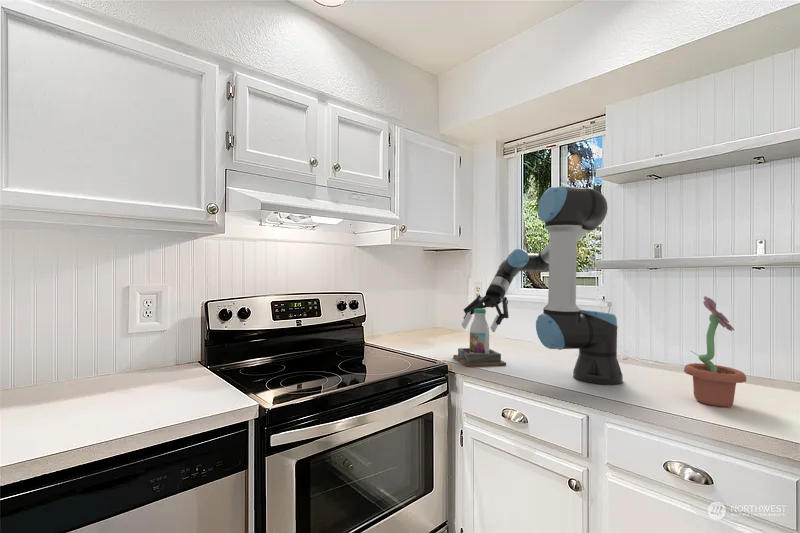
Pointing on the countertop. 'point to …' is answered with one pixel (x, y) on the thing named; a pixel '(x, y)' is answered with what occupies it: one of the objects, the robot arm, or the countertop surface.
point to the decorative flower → (714, 368)
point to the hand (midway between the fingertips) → (477, 328)
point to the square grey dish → (478, 358)
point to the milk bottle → (479, 333)
